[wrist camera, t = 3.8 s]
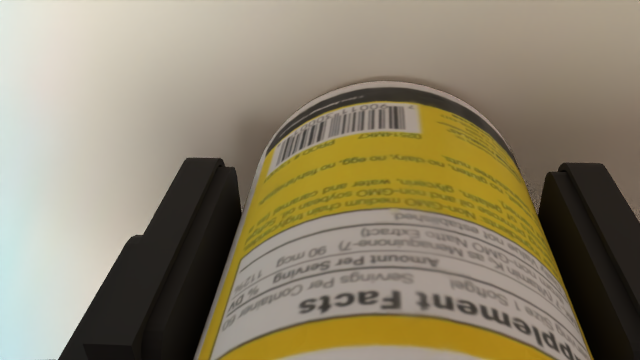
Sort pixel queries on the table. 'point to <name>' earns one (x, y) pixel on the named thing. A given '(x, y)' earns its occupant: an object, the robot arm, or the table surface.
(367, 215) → the supplement bottle
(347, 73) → the table surface
